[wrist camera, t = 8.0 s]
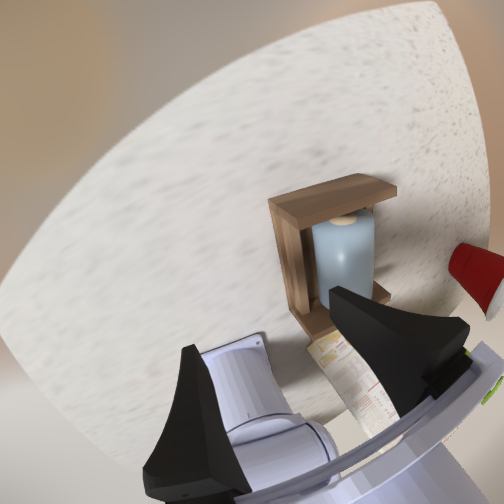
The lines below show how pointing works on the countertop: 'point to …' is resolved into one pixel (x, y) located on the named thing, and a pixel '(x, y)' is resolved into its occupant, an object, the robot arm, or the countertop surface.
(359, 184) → the holder
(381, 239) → the countertop surface
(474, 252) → the plastic cup
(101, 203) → the countertop surface
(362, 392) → the coffeecake box
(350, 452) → the robot arm
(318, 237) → the roll
